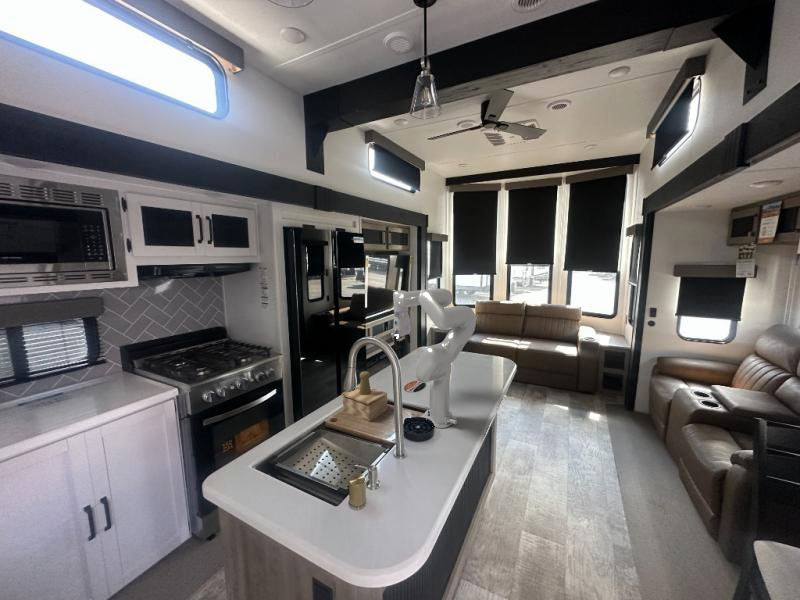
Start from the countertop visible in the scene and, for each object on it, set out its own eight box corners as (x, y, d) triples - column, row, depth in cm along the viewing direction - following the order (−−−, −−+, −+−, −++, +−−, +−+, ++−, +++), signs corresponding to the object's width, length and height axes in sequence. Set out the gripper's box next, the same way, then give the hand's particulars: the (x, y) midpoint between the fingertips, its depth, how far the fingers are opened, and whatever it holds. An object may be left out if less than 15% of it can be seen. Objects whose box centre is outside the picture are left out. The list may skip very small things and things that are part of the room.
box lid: (387, 394, 158) (387, 392, 158) (368, 404, 147) (368, 402, 147) (361, 386, 169) (361, 384, 169) (341, 395, 158) (341, 393, 158)
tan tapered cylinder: (362, 396, 154) (362, 375, 153) (357, 392, 159) (356, 371, 158) (373, 393, 158) (372, 372, 156) (367, 389, 163) (366, 369, 161)
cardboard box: (387, 409, 160) (386, 394, 158) (369, 421, 149) (368, 406, 147) (362, 400, 171) (361, 386, 169) (343, 411, 160) (342, 396, 158)
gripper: (396, 317, 155) (398, 350, 158) (416, 311, 168) (417, 341, 171) (385, 316, 159) (386, 348, 162) (405, 310, 173) (406, 339, 176)
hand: (402, 345), depth 167 cm, fingers open, 9 cm apart
